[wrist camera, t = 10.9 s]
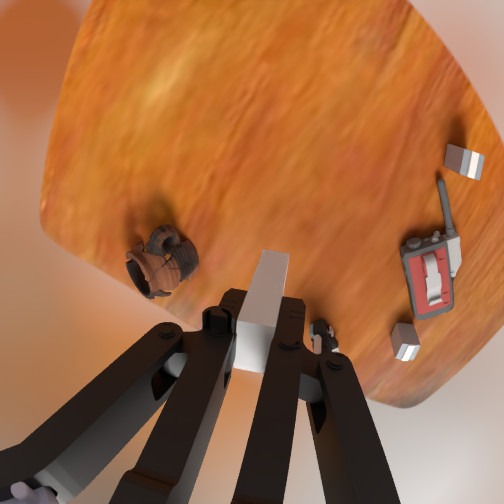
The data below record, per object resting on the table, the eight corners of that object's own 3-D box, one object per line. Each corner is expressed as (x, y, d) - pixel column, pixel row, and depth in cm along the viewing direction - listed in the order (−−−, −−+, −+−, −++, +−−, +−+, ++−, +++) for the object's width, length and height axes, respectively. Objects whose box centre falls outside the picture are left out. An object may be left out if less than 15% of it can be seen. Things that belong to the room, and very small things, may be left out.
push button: (350, 339, 46) (354, 387, 38) (322, 353, 49) (321, 400, 40) (328, 311, 45) (329, 358, 36) (299, 327, 47) (293, 374, 38)
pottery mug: (201, 289, 48) (159, 316, 43) (163, 254, 52) (123, 277, 47) (208, 228, 40) (155, 256, 35) (164, 195, 44) (115, 216, 38)
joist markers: (447, 143, 32) (465, 149, 27) (466, 149, 31) (485, 156, 27) (390, 337, 45) (395, 360, 40) (406, 338, 44) (413, 361, 40)
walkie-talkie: (460, 299, 40) (443, 174, 34) (470, 315, 36) (456, 182, 30) (410, 316, 43) (383, 193, 37) (417, 334, 39) (391, 203, 33)
